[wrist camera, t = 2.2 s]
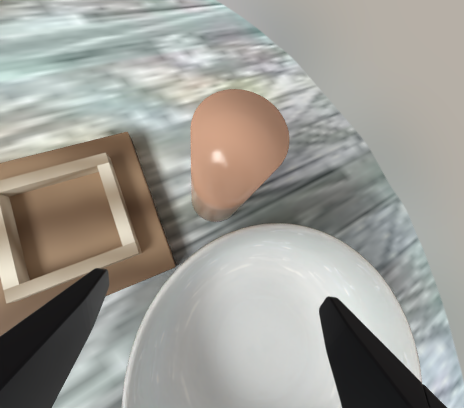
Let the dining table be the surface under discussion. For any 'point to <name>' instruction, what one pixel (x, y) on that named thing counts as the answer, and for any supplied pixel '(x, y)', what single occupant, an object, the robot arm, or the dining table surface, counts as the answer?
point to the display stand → (75, 224)
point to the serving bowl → (258, 323)
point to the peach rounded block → (233, 150)
